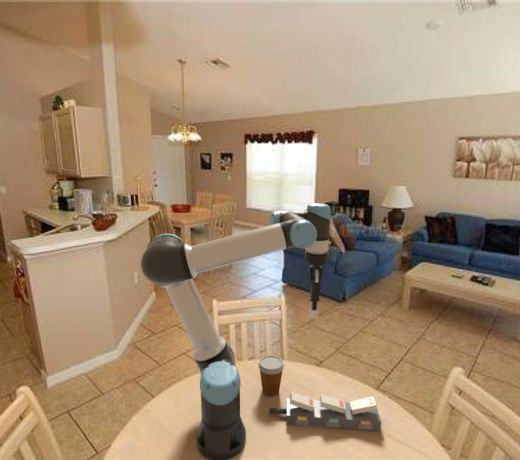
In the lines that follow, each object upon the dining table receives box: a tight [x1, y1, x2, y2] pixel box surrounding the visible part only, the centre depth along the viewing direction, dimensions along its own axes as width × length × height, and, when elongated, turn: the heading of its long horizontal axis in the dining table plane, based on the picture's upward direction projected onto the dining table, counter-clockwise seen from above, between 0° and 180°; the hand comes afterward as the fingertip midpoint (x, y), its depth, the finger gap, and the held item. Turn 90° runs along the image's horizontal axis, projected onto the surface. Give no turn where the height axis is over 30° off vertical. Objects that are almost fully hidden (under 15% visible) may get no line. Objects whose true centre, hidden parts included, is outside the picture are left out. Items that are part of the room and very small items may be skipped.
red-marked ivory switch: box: [289, 391, 315, 412], centre depth 114 cm, size 8×4×2 cm, turn 86°
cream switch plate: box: [318, 393, 346, 413], centre depth 113 cm, size 8×4×2 cm, turn 86°
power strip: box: [268, 397, 382, 432], centre depth 114 cm, size 36×8×5 cm, turn 85°
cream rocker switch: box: [349, 396, 378, 415], centre depth 113 cm, size 8×4×2 cm, turn 85°
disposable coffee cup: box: [257, 354, 285, 397], centre depth 127 cm, size 10×10×12 cm
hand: (313, 317), depth 117 cm, fingers closed
